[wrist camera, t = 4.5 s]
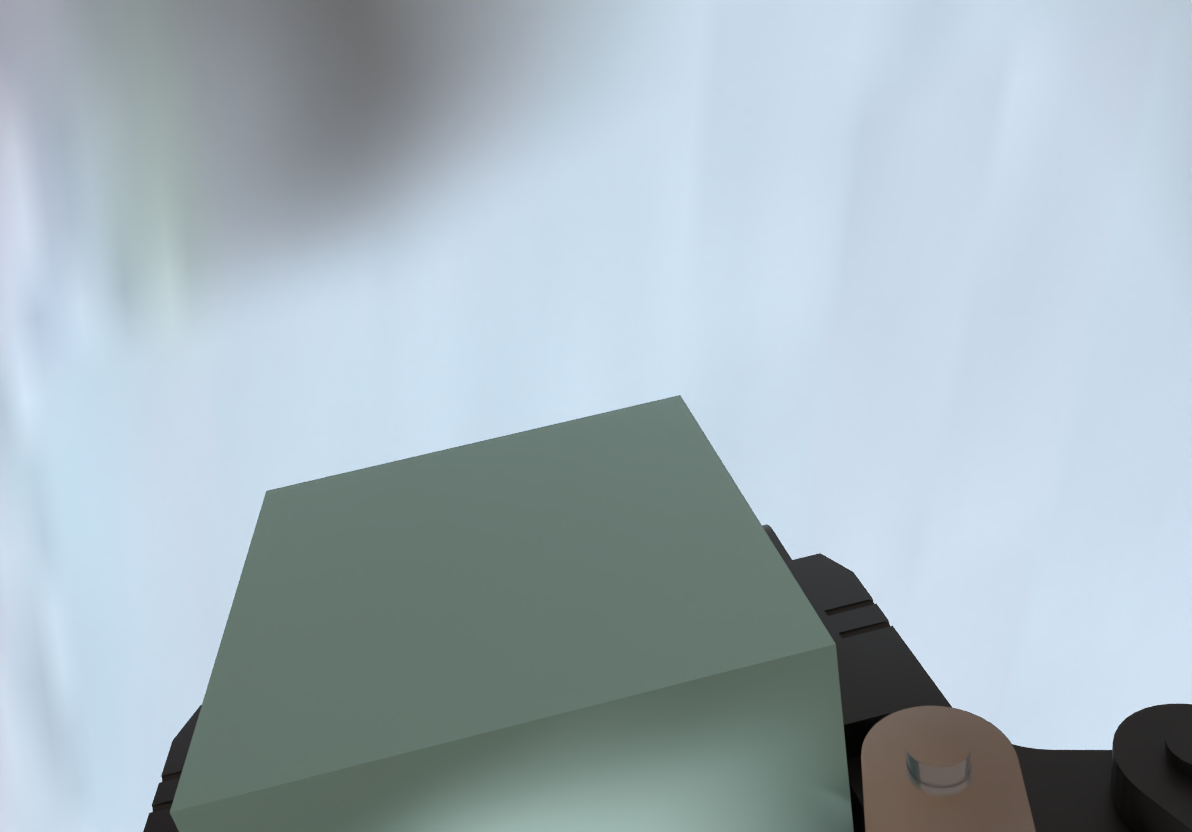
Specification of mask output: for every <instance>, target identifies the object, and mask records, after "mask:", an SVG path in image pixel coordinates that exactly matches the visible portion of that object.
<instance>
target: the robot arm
mask: <svg viewBox="0 0 1192 832" xmlns="http://www.w3.org/2000/svg"><path fill="white" fill-rule="evenodd" d="M762 527H763V528H764V530H765V532H766V533H767V535H768V536H769V538H770V540H771V541H772V543H773V544H774V546H775V548H776V549H777V551H778V552H779V554H780V556H781V557H782V559H783V560H784V562H785V564H786V565H787V567H788V568H789V570H790V572H791V573H792V575H793V576H794V578H795V580H796V581H797V583H798V584H799V586H800V588H801V589H802V591H803V592H804V594H805V596H806V597H807V599H808V600H809V602H810V604H811V605H812V607H813V608H814V610H815V612H816V613H817V615H818V616H819V618H820V620H821V621H822V623H823V624H824V626H825V628H826V629H827V631H828V632H829V634H830V636H831V637H832V639H833V640H834V642H835V644H836V651H837V662H838V672H839V683H840V693H841V704H842V714H843V725H844V735H845V746H846V756H847V767H848V777H849V788H850V798H851V809H852V819H853V830H854V832H1192V705H1191V704H1165V705H1157V706H1153V707H1148V708H1145V709H1142V710H1140V711H1138V712H1135V713H1134V714H1132V715H1130V716H1129V717H1127V718H1126V719H1125V720H1124V721H1123V722H1122V723H1121V724H1120V725H1119V727H1118V729H1117V730H1116V732H1115V735H1114V739H1113V749H1112V750H1044V749H1033V748H1027V747H1021V746H1017V745H1013V744H1011V742H1010V741H1009V739H1008V738H1007V737H1006V736H1005V735H1004V734H1003V733H1002V732H1001V731H1000V730H999V729H998V728H997V727H995V726H994V725H993V724H991V723H990V722H988V721H986V720H985V719H983V718H981V717H979V716H977V715H974V714H972V713H970V712H967V711H963V710H960V709H956V708H952V707H951V705H950V704H949V702H948V701H947V700H946V698H945V697H944V696H943V694H942V693H941V692H940V690H939V689H938V687H937V686H936V685H935V683H934V682H933V681H932V679H931V678H930V677H929V675H928V674H927V672H926V671H925V670H924V668H923V667H922V666H921V664H920V663H919V661H918V660H917V659H916V657H915V656H914V655H913V653H912V652H911V651H910V649H909V648H908V646H907V645H906V644H905V642H904V641H903V640H902V638H901V637H900V635H899V634H898V633H897V631H896V630H895V629H894V627H893V626H890V625H889V621H888V619H887V618H886V616H885V615H884V614H883V612H882V611H881V609H880V608H879V607H878V605H877V604H874V603H873V599H872V597H871V596H870V594H869V593H868V592H867V590H866V589H865V588H864V586H863V585H862V583H861V582H860V581H859V579H858V578H857V577H856V575H855V574H854V573H853V572H852V571H850V570H849V569H847V568H845V567H843V566H842V565H840V564H838V563H836V562H834V561H833V560H831V559H829V558H827V557H826V556H824V555H822V554H816V555H812V556H808V557H804V558H799V559H795V560H792V559H791V558H790V556H789V554H788V553H787V551H786V550H785V548H784V547H783V545H782V544H781V542H780V540H779V539H778V537H777V536H776V534H775V533H774V531H773V530H772V528H771V527H770V526H769V525H763V526H762ZM201 707H202V705H201V706H200V707H199V708H198V709H197V711H196V712H195V713H194V714H193V716H192V717H191V718H190V719H189V721H188V722H187V723H186V724H185V726H184V727H183V728H182V729H181V731H180V732H179V733H178V735H177V736H176V737H175V738H174V740H173V742H172V745H171V748H170V751H169V754H168V757H167V760H166V763H165V766H164V770H163V773H162V782H161V783H159V785H158V788H157V791H156V794H155V797H154V800H153V804H152V807H153V812H152V813H149V816H148V819H147V822H146V825H145V828H144V831H143V832H179V831H178V829H177V827H176V824H175V822H174V820H173V818H172V816H171V814H170V810H171V807H172V803H173V800H174V797H175V793H176V790H177V787H178V783H179V780H180V777H181V773H182V770H183V767H184V763H185V760H186V757H187V753H188V750H189V747H190V743H191V740H192V737H193V733H194V730H195V727H196V723H197V720H198V717H199V713H200V710H201Z"/></svg>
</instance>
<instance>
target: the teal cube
mask: <svg viewBox="0 0 1192 832" xmlns="http://www.w3.org/2000/svg"><path fill="white" fill-rule="evenodd" d="M170 814H171V816H172V818H173V820H174V822H175V824H176V827H177V829H178V831H179V832H854V830H853V819H852V809H851V798H850V788H849V777H848V767H847V756H846V746H845V735H844V725H843V714H842V704H841V693H840V683H839V672H838V662H837V651H836V644H835V642H834V640H833V639H832V637H831V636H830V634H829V632H828V631H827V629H826V628H825V626H824V624H823V623H822V621H821V620H820V618H819V616H818V615H817V613H816V612H815V610H814V608H813V607H812V605H811V604H810V602H809V600H808V599H807V597H806V596H805V594H804V592H803V591H802V589H801V588H800V586H799V584H798V583H797V581H796V580H795V578H794V576H793V575H792V573H791V572H790V570H789V568H788V567H787V565H786V564H785V562H784V560H783V559H782V557H781V556H780V554H779V552H778V551H777V549H776V548H775V546H774V544H773V543H772V541H771V540H770V538H769V536H768V535H767V533H766V532H765V530H764V528H763V527H762V525H761V524H760V522H759V520H758V519H757V517H756V516H755V514H754V512H753V511H752V509H751V508H750V506H749V504H748V503H747V501H746V500H745V498H744V496H743V495H742V493H741V492H740V490H739V488H738V487H737V485H736V484H735V482H734V480H733V479H732V477H731V476H730V474H729V472H728V471H727V469H726V468H725V466H724V464H723V463H722V461H721V460H720V458H719V456H718V455H717V453H716V452H715V450H714V448H713V447H712V445H711V444H710V442H709V440H708V439H707V437H706V436H705V434H704V432H703V431H702V429H701V428H700V426H699V424H698V423H697V421H696V420H695V418H694V417H693V415H692V413H691V412H690V410H689V409H688V407H687V405H686V404H685V402H684V401H683V399H682V397H681V396H680V395H679V396H675V397H670V398H666V399H662V400H657V401H653V402H649V403H644V404H640V405H636V406H632V407H627V408H623V409H619V410H614V411H610V412H606V413H601V414H597V415H593V416H588V417H584V418H580V419H575V420H571V421H567V422H562V423H558V424H554V425H549V426H545V427H541V428H537V429H532V430H528V431H524V432H519V433H515V434H511V435H506V436H502V437H498V438H493V439H489V440H485V441H480V442H476V443H472V444H467V445H463V446H459V447H454V448H450V449H446V450H442V451H437V452H433V453H429V454H424V455H420V456H416V457H411V458H407V459H403V460H398V461H394V462H390V463H385V464H381V465H377V466H372V467H368V468H364V469H359V470H355V471H351V472H347V473H342V474H338V475H334V476H329V477H325V478H321V479H316V480H312V481H308V482H303V483H299V484H295V485H290V486H286V487H282V488H277V489H273V490H269V491H266V494H265V497H264V501H263V504H262V507H261V511H260V514H259V517H258V521H257V524H256V527H255V531H254V534H253V537H252V541H251V544H250V547H249V551H248V554H247V557H246V561H245V564H244V567H243V571H242V574H241V577H240V580H239V584H238V587H237V590H236V594H235V597H234V600H233V604H232V607H231V610H230V614H229V617H228V620H227V624H226V627H225V630H224V634H223V637H222V640H221V644H220V647H219V650H218V654H217V657H216V660H215V664H214V667H213V670H212V674H211V677H210V680H209V684H208V687H207V690H206V694H205V697H204V700H203V703H202V707H201V710H200V713H199V717H198V720H197V723H196V727H195V730H194V733H193V737H192V740H191V743H190V747H189V750H188V753H187V757H186V760H185V763H184V767H183V770H182V773H181V777H180V780H179V783H178V787H177V790H176V793H175V797H174V800H173V803H172V807H171V810H170Z"/></svg>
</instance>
